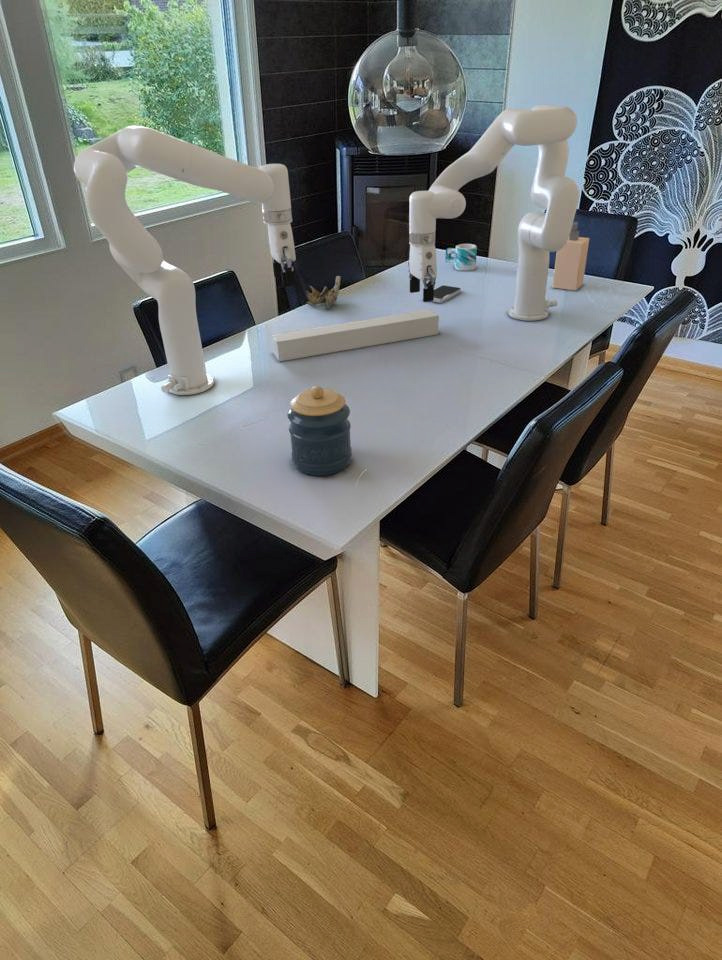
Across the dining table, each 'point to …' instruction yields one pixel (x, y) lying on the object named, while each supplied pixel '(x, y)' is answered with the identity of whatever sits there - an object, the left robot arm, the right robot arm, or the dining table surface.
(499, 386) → the dining table surface
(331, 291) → the jawbone
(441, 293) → the smartphone
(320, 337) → the beam
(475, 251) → the mug
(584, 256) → the tan upright block
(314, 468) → the canister
